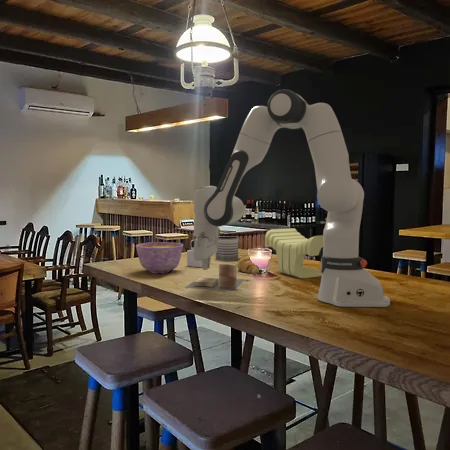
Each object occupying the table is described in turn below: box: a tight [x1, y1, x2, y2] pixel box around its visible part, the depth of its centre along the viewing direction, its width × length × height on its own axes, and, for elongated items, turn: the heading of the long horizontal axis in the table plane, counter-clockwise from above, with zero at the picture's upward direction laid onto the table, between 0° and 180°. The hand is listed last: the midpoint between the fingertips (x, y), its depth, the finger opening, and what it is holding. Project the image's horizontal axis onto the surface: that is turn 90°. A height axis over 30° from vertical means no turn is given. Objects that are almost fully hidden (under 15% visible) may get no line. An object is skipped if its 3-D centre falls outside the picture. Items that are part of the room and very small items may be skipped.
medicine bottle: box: [186, 239, 203, 268], centre depth 214 cm, size 7×7×12 cm
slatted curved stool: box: [264, 227, 323, 279], centre depth 192 cm, size 30×16×18 cm, turn 29°
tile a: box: [193, 276, 219, 287], centre depth 169 cm, size 7×2×8 cm
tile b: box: [218, 263, 238, 289], centre depth 165 cm, size 6×2×8 cm, turn 77°
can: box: [215, 235, 239, 262], centre depth 233 cm, size 11×11×12 cm
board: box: [184, 278, 245, 291], centre depth 170 cm, size 18×18×1 cm
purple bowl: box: [135, 241, 184, 274], centre depth 198 cm, size 20×20×12 cm
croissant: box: [237, 255, 260, 275], centre depth 201 cm, size 21×10×8 cm, turn 15°
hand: (206, 269), depth 169 cm, fingers closed
